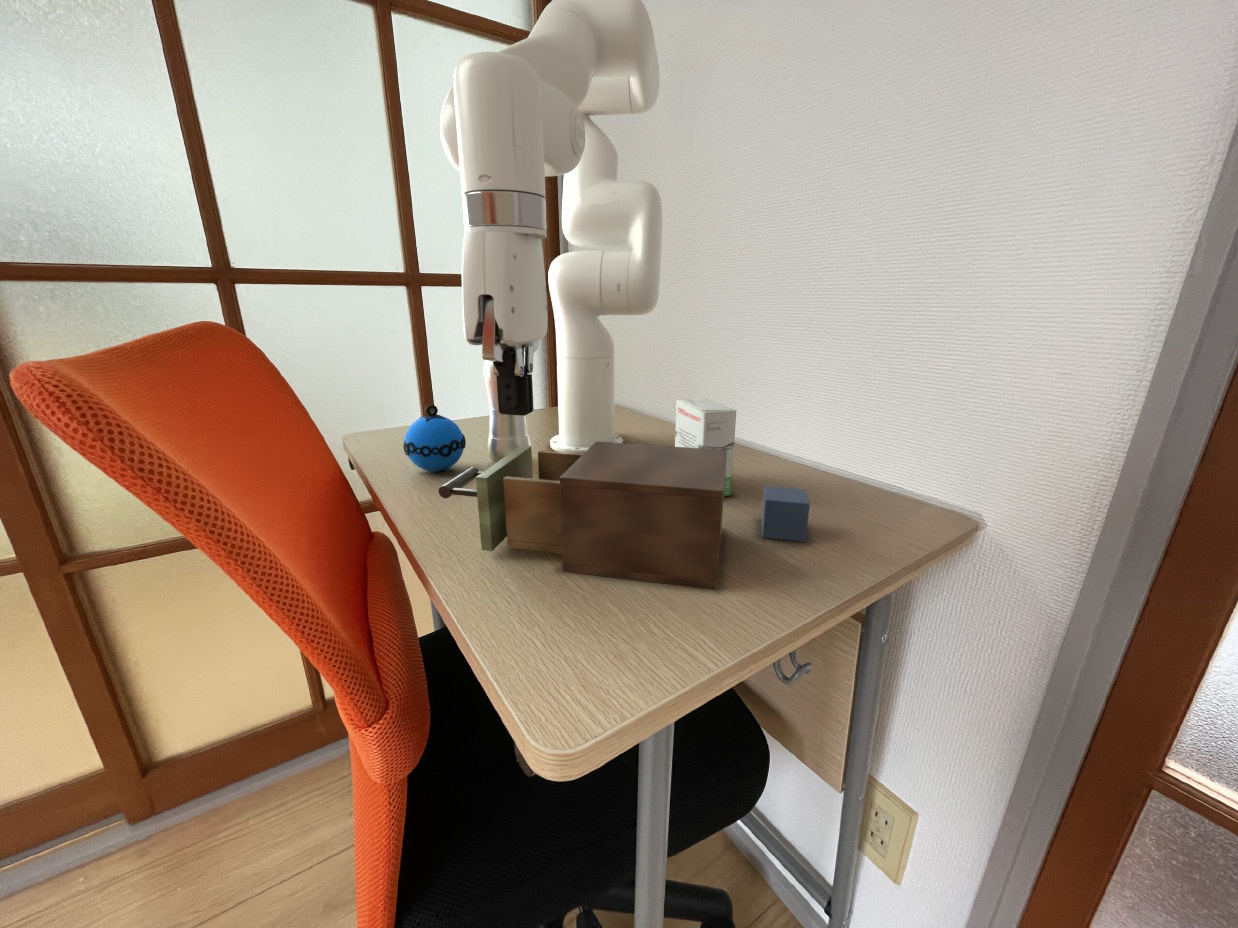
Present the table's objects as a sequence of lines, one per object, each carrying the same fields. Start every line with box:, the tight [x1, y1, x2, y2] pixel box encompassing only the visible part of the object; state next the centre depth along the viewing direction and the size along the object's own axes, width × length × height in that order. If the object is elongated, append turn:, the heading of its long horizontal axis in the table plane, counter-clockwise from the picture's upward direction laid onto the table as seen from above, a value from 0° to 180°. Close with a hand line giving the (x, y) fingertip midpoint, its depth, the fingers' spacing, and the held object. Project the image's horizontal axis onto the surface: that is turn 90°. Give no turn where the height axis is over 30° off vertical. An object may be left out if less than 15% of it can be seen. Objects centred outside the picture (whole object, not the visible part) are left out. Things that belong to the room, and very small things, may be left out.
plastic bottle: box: [482, 340, 532, 464], centre depth 80 cm, size 6×7×20 cm
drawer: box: [438, 445, 584, 554], centre depth 56 cm, size 19×11×8 cm, turn 77°
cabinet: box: [560, 441, 727, 591], centre depth 54 cm, size 15×13×10 cm
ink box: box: [674, 398, 737, 497], centre depth 71 cm, size 9×5×12 cm, turn 19°
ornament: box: [402, 404, 467, 473], centre depth 77 cm, size 9×9×10 cm
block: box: [760, 485, 811, 543], centre depth 59 cm, size 4×4×4 cm
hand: (516, 412), depth 55 cm, fingers closed
